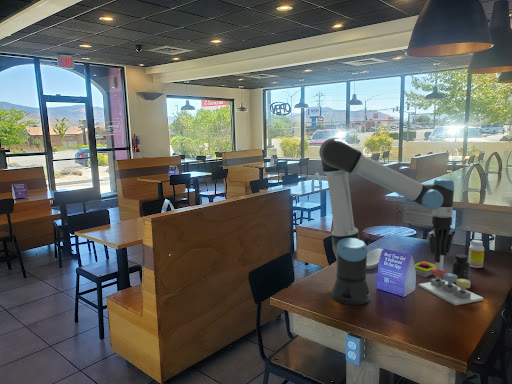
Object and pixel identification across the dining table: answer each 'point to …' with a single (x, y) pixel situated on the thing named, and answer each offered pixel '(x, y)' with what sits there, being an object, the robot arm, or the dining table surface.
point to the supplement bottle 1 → (461, 267)
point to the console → (450, 292)
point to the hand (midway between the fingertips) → (439, 269)
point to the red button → (438, 273)
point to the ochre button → (463, 284)
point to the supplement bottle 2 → (476, 254)
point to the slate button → (450, 278)
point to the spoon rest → (373, 258)
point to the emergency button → (424, 268)
